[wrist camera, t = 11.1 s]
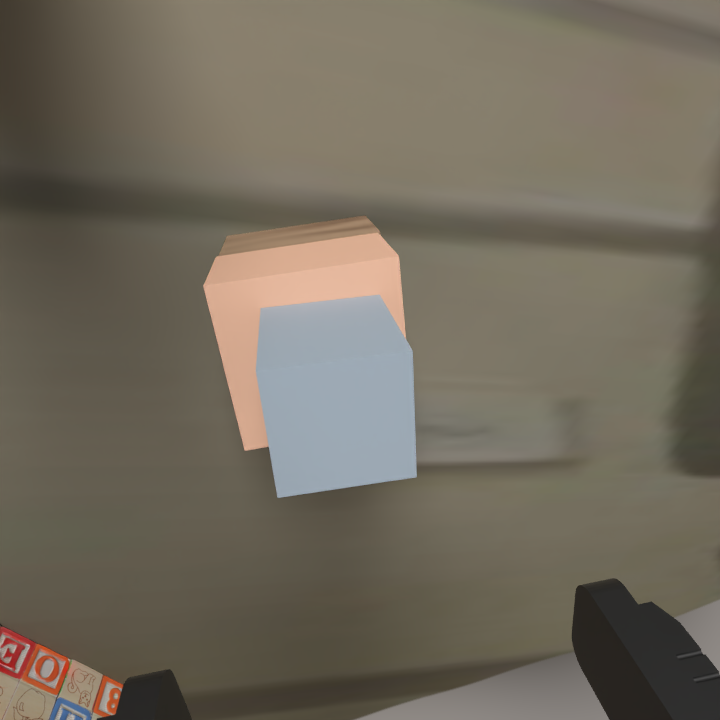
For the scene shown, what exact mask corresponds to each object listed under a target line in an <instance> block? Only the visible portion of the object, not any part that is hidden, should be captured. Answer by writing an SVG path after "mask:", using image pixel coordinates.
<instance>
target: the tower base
mask: <svg viewBox="0 0 720 720" xmlns="http://www.w3.org/2000/svg"><path fill="white" fill-rule="evenodd" d="M372 233H379V234H380V231H379V230H378V229H377V228H376V227H375V226H374V225H373V223H372V222H371V221H370V220H369V219H368V218H367V217H366V216H359V217H352V218H346V219H339V220H332V221H325V222H319V223H312V224H305V225H298V226H292V227H285V228H278V229H271V230H264V231H258V232H251V233H244V234H237V235H231V236H227V237H226V239H225V242H224V244H223V246H222V249H221V251H220V254H219V256H224V255H230V254H237V253H244V252H251V251H257V250H264V249H271V248H278V247H284V246H291V245H298V244H305V243H311V242H318V241H325V240H332V239H339V238H345V237H352V236H359V235H366V234H372Z"/></svg>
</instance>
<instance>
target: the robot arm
mask: <svg viewBox="0 0 720 720" xmlns="http://www.w3.org/2000/svg"><path fill="white" fill-rule="evenodd" d="M572 642H573V647H574V651H575V654H576V657H577V660H578V662H579V665H580V667H581V669H582V671H583V673H584V674H585V676H586V678H587V680H588V682H589V683H590V685H591V687H592V689H593V691H594V692H595V694H596V696H597V698H598V699H599V701H600V703H601V705H602V707H603V709H604V710H605V712H606V714H607V716H608V718H609V719H610V720H720V675H719V671H718V670H717V669H716V667H715V666H714V665H713V664H712V662H711V661H710V660H709V658H708V657H707V656H706V655H703V654H702V652H701V649H700V647H699V646H698V645H697V643H696V642H695V641H694V640H693V638H692V637H691V636H690V635H689V633H688V632H687V631H686V630H685V628H684V627H683V626H682V625H681V623H680V622H678V621H677V620H676V619H674V618H673V617H672V616H670V615H669V614H668V613H666V612H665V611H664V610H662V609H661V608H659V607H658V606H657V605H655V604H654V603H653V602H648V603H643V604H639V605H638V604H637V602H636V601H635V600H634V598H633V597H632V596H631V594H630V593H629V591H628V590H627V589H626V587H625V586H624V585H623V584H622V583H621V582H620V581H619V580H617V579H614V578H613V579H608V580H603V581H598V582H593V583H589V584H584V585H579V586H578V587H577V588H576V593H575V604H574V615H573V626H572ZM97 720H192V719H191V716H190V713H189V710H188V708H187V706H186V703H185V701H184V698H183V696H182V693H181V691H180V689H179V686H178V684H177V681H176V679H175V676H174V674H173V672H172V671H171V670H170V669H168V670H163V671H158V672H153V673H149V674H144V675H139V676H134V677H130V678H128V679H127V680H126V681H125V683H124V685H123V688H122V691H121V695H120V698H119V702H118V706H117V710H116V713H115V715H110V716H106V717H101V718H97Z"/></svg>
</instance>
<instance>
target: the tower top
mask: <svg viewBox="0 0 720 720" xmlns="http://www.w3.org/2000/svg"><path fill="white" fill-rule="evenodd" d="M204 290H205V294H206V298H207V302H208V306H209V310H210V314H211V318H212V322H213V326H214V330H215V334H216V338H217V342H218V346H219V350H220V354H221V358H222V362H223V366H224V370H225V374H226V378H227V382H228V386H229V390H230V394H231V398H232V402H233V406H234V410H235V413H236V417H237V421H238V425H239V429H240V433H241V437H242V441H243V445H244V449H245V451H246V450H252V449H258V448H263V447H269V445H268V439H267V433H266V428H265V422H264V416H263V410H262V405H261V399H260V393H259V387H258V381H257V376H256V360H257V347H258V335H259V322H260V310H261V308H266V307H275V306H284V305H292V304H301V303H310V302H319V301H327V300H336V299H345V298H354V297H362V296H371V295H380V296H381V298H382V299H383V301H384V303H385V304H386V306H387V308H388V310H389V311H390V313H391V315H392V316H393V318H394V320H395V322H396V323H397V325H398V327H399V328H400V330H401V332H402V334H403V335H404V337H405V339H406V334H405V322H404V311H403V299H402V287H401V276H400V264H399V256H398V255H397V253H396V252H395V251H394V250H393V249H392V248H391V247H390V246H389V245H388V243H387V242H386V241H385V240H384V239H383V238H382V237H381V236H380V234H379V233H372V234H366V235H359V236H352V237H345V238H339V239H332V240H325V241H318V242H311V243H305V244H298V245H291V246H284V247H278V248H271V249H264V250H257V251H251V252H244V253H237V254H230V255H224V256H217V257H216V258H215V260H214V263H213V265H212V267H211V269H210V272H209V274H208V276H207V279H206V281H205V283H204Z"/></svg>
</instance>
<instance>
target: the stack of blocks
mask: <svg viewBox="0 0 720 720" xmlns="http://www.w3.org/2000/svg"><path fill="white" fill-rule="evenodd" d="M122 688H123V685H122V684H120V683H118V682H116V681H114V680H112V679H111V678H109V677H107V676H104V675H102V674H101V673H99V672H97V671H95V670H93V669H91V668H89V667H87V666H85V665H83V664H81V663H79V662H77V661H75V660H70V659H68V658H67V657H65V656H62V655H60V654H58V653H56V652H54V651H52V650H50V649H48V648H46V647H44V646H42V645H40V644H36V643H35V642H33V641H31V640H29V639H27V638H25V637H23V636H21V635H19V634H17V633H15V632H13V631H11V630H9V629H7V628H5V627H1V626H0V720H97V718H101V717H106V716H110V715H115V713H116V710H117V706H118V702H119V698H120V695H121V691H122Z"/></svg>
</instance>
